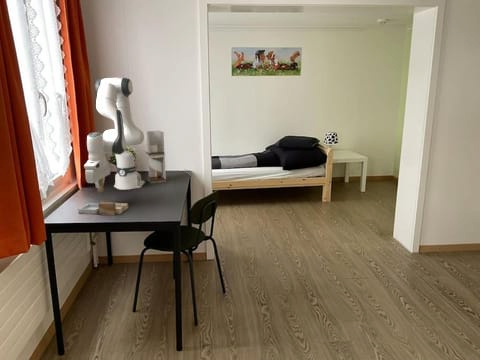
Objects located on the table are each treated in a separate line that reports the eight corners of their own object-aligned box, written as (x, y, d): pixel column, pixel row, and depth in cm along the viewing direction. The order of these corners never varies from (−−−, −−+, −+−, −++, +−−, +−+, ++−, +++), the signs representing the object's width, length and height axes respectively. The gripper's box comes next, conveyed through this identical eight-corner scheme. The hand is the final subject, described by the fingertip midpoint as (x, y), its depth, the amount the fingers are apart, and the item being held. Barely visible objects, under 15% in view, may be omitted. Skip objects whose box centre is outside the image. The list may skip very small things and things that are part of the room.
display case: (147, 179, 271) (144, 131, 262) (162, 178, 275) (159, 130, 267) (151, 183, 261) (147, 133, 252) (166, 181, 265) (163, 132, 257)
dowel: (99, 190, 212) (98, 177, 210) (104, 191, 212) (103, 177, 210) (96, 192, 209) (95, 178, 207) (101, 192, 209) (100, 178, 207)
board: (107, 207, 209) (107, 202, 208) (128, 208, 207) (127, 203, 206) (98, 213, 199) (98, 208, 198) (120, 214, 197) (119, 209, 197)
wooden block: (102, 212, 199) (101, 202, 197) (116, 213, 197) (115, 202, 196) (99, 214, 196) (98, 203, 194) (113, 215, 195) (112, 204, 193)
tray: (88, 207, 208) (88, 203, 207) (105, 208, 206) (105, 204, 206) (78, 213, 198) (78, 209, 197) (96, 214, 196) (95, 209, 196)
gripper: (101, 158, 216) (104, 181, 220) (82, 166, 197) (85, 191, 201) (111, 158, 216) (114, 181, 219) (93, 166, 196) (96, 191, 200)
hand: (100, 186), depth 210 cm, fingers closed on dowel, 3 cm apart
